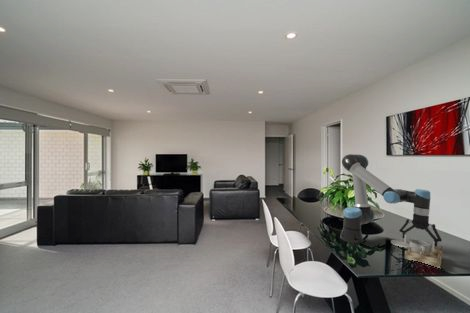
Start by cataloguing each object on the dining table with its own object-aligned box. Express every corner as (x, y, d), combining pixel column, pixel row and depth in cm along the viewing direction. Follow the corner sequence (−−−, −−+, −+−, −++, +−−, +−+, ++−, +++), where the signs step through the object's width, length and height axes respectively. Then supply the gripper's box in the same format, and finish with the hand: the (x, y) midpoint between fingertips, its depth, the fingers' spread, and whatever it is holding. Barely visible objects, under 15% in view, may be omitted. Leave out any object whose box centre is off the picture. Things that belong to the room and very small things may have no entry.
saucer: (389, 244, 155) (389, 242, 155) (392, 240, 163) (392, 237, 163) (410, 250, 146) (410, 247, 146) (412, 245, 154) (412, 242, 154)
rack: (404, 258, 133) (405, 246, 133) (409, 249, 146) (409, 238, 146) (440, 269, 122) (440, 255, 121) (441, 258, 135) (442, 245, 135)
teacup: (408, 249, 144) (409, 237, 144) (430, 254, 137) (430, 241, 137) (408, 256, 133) (409, 243, 133) (432, 262, 126) (432, 249, 126)
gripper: (395, 210, 141) (393, 242, 142) (448, 220, 123) (445, 256, 124) (397, 208, 147) (395, 239, 147) (449, 218, 129) (446, 252, 129)
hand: (418, 247), depth 136 cm, fingers open, 13 cm apart
